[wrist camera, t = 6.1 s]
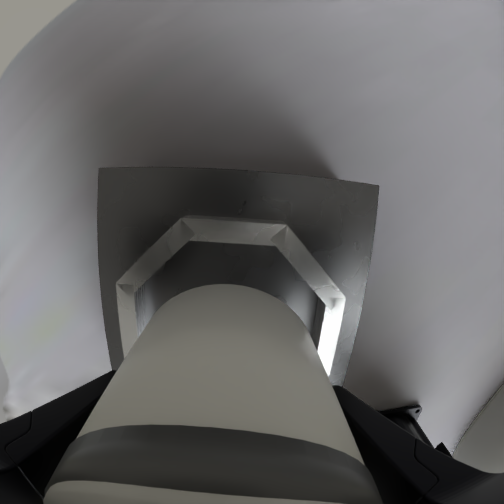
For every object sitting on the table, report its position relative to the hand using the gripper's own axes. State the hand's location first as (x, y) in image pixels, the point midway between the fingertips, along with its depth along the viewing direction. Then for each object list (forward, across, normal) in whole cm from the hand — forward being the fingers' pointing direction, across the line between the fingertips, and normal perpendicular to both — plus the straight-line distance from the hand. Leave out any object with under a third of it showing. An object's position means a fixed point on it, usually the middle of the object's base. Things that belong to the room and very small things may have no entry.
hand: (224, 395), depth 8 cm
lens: (+2, 0, 0) cm, 2 cm away
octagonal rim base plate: (+10, 0, 0) cm, 10 cm away
